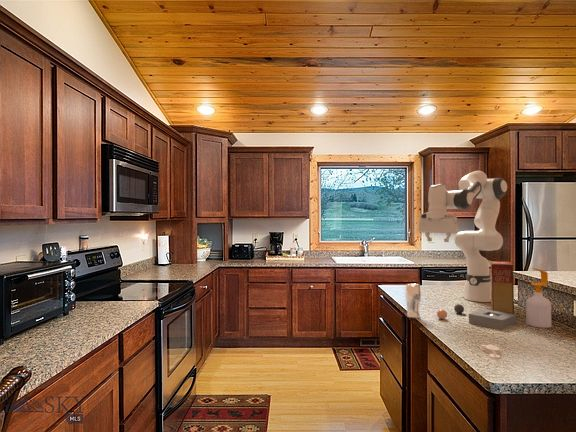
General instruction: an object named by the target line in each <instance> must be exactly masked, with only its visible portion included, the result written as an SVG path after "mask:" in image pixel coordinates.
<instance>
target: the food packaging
mask: <svg viewBox="0 0 576 432" xmlns="http://www.w3.org/2000/svg"><path fill="white" fill-rule="evenodd" d="M490 275H491V302H490V305H491V310H492V311H498V312H504V313H510V314H515V293H514V292H515V290H514V287H515V286H514V265H513V264H512V262H510V261H496V260H494V261H492V260H491V261H490Z"/></svg>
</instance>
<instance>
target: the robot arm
mask: <svg viewBox="0 0 576 432" xmlns="http://www.w3.org/2000/svg"><path fill="white" fill-rule="evenodd" d="M507 191H508V183H507V181H506V180H505V178H503V177H494V178H488V175H487V174H486V173H485V172H484V171H483V170H482V171H481V170H475V171H471V172H469V173H468V174H465V175H464V176H463V177H461V179H459V181H458V189H455V190H449V189H447V188H446V185H445V184H444V183H438V184H432V185H430V187H428V197H427V198H428V199H427V201H428V211H426V212H424V213H422V214H420V215H419V221H418V232H420V233H421V234H422V233H424V234H425V237H426V238H427V239H426V241H427V242H432V241H433V240H432V237H430V234H432V233H433V234H445V236H446V237H445V238H443V239H444V240H443V242H444V243H449V240H450V237H451V235H452V234H455V236H454V244H455V245H456V247H457V248H459V250H460V251H461V252H462V253H463V255H464V257H465V260H466V267H467V268H466V270H467V273H466V282H465V283H464V288H463V294H462V295H461V298H462V299H465V300H467V301H471V302H476V303H477V302H480V303H491V274H490V262H489V260H488V259H487V258H486V257H484V256H482V255H481V253H480V251H487V252H488V251H489V252H492V251H497V250H500V249H501V248H502V246H503V243H504V239H503V236H502V234H501V233H500V232H499V231H497V229H496V223H497V220H498V217H499V213H500V208H501V201H500V200H501V199H503V197H504V196H505V195H506V193H507ZM479 199H481V200H482V201H481V203H480V205H479V207H478V209H477V211H476V214H475V217H474V220H473V223H474V225H475V227H476V228H477V229H479V230H463V231H462V230H461V231H459V227H458V217H457V215H454V214H451V215H450V214H448V213H447V212H448V211H447V210H457V209H458V210H468V209H469V208H470V207H471V206H472V204H473V202H474V200H479Z"/></svg>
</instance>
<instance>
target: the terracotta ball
mask: <svg viewBox="0 0 576 432" xmlns="http://www.w3.org/2000/svg"><path fill="white" fill-rule="evenodd" d="M436 316H437V318H438V319H440V320H446V319H447V317H448V313H447V311H446V310H445V309H442V308H441V309H438V310H437V312H436Z"/></svg>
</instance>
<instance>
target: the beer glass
mask: <svg viewBox="0 0 576 432" xmlns="http://www.w3.org/2000/svg"><path fill="white" fill-rule="evenodd" d="M421 290H422V288H421V284H418V283H406V284H405V302H406V307H407V311H406V317H408V318H410V319H421V315H420V314H421V313H420V306H421V299H422V291H421Z"/></svg>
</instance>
